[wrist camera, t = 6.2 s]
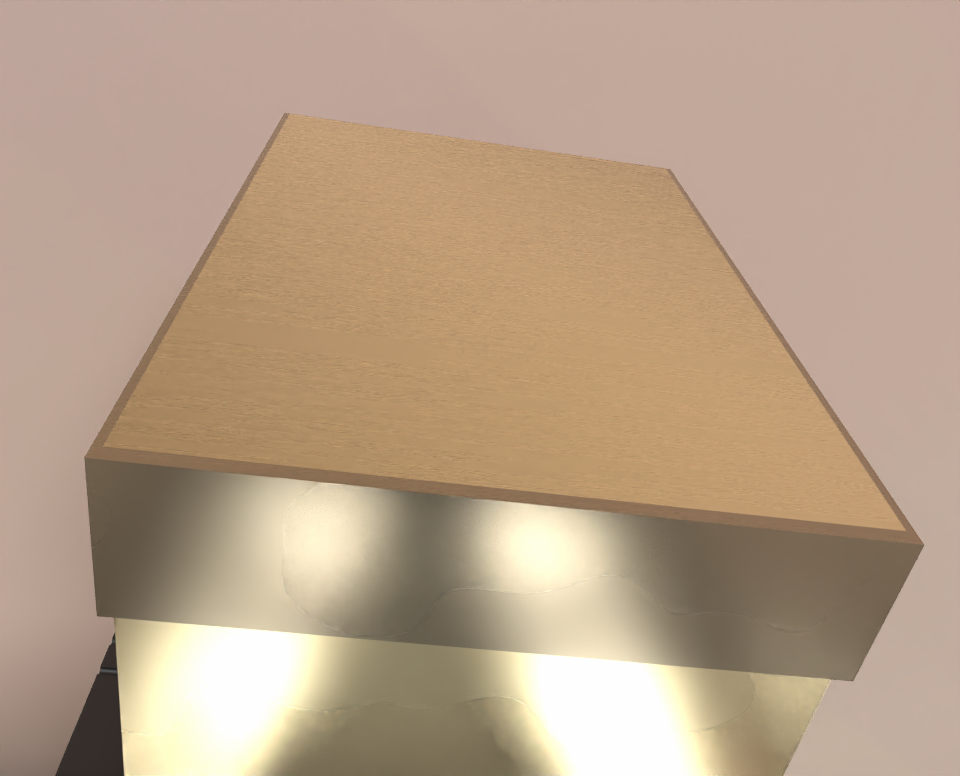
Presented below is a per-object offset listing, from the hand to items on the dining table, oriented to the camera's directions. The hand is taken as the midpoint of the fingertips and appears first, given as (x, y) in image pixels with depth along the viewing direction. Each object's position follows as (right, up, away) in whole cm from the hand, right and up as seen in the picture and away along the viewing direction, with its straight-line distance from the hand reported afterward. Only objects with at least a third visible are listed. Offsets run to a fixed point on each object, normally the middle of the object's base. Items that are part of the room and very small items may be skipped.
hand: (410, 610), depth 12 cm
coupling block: (0, 0, +1) cm, 1 cm away
